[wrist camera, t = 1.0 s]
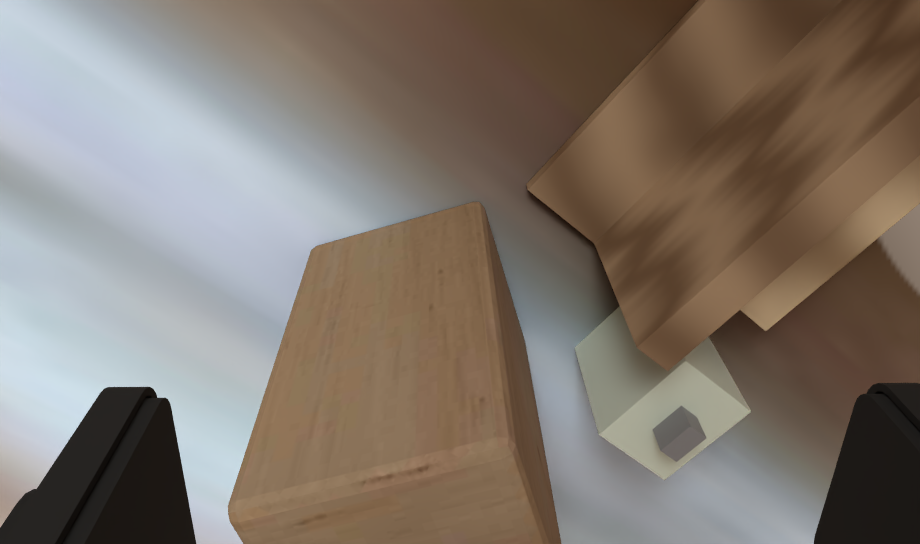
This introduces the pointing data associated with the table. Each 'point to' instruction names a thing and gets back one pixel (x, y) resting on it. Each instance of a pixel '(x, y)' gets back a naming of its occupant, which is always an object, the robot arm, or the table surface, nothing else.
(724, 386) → the cabinet
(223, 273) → the table surface
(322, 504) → the wooden block
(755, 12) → the brown box
